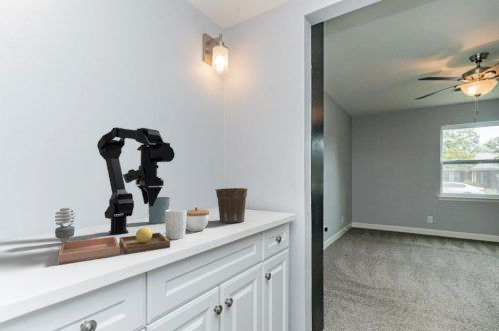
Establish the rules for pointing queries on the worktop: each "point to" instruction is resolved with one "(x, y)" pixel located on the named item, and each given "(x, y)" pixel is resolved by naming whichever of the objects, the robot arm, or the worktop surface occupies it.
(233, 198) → the plant pot
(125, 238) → the tray
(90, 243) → the dish
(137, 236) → the ball
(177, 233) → the white cup
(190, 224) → the lidded jar
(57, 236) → the light bulb
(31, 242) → the worktop surface
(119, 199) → the robot arm
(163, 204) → the teal cup
